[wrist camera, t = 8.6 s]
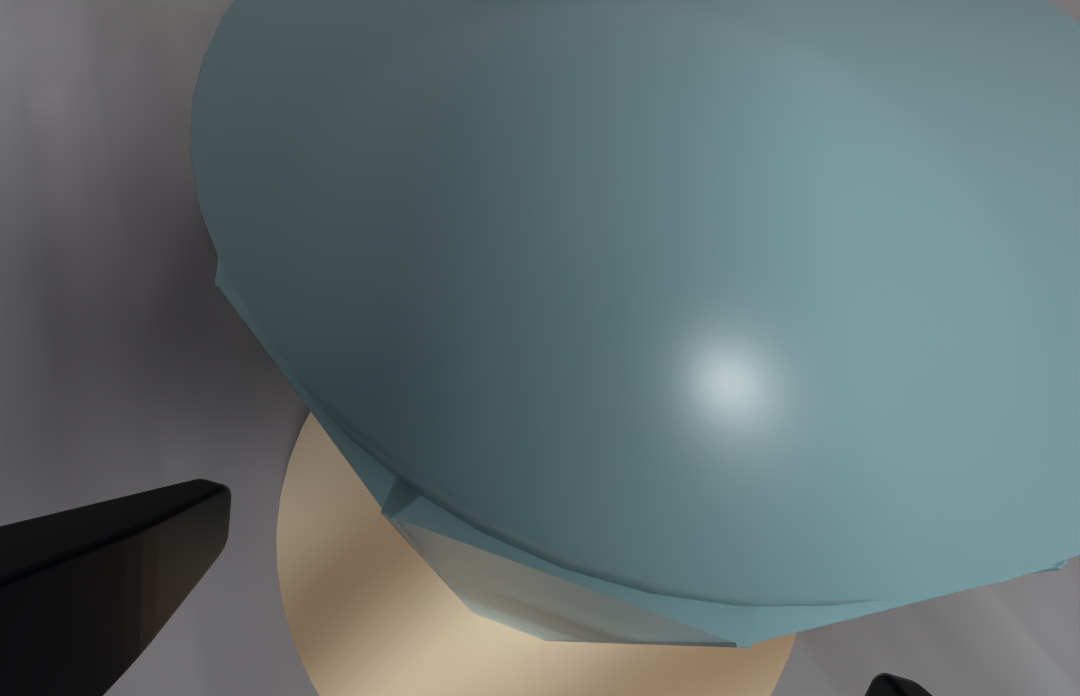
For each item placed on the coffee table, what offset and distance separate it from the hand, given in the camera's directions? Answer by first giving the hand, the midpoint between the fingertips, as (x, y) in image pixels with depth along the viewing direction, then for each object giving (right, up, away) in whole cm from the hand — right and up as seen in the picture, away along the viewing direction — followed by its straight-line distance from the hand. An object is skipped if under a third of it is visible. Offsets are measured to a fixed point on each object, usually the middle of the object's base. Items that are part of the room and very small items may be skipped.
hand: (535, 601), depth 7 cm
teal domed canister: (0, -1, +8) cm, 8 cm away
